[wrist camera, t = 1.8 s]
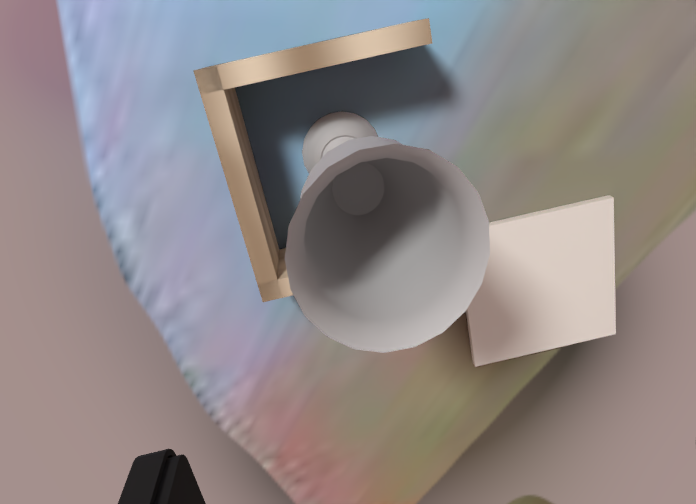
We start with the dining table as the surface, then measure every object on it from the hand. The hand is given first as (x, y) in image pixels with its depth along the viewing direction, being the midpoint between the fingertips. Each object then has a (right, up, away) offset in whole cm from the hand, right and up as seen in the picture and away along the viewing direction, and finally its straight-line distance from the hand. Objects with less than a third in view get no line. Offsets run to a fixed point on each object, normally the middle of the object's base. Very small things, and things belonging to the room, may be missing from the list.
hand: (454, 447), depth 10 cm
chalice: (-2, +10, +25) cm, 27 cm away
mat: (+12, +1, +30) cm, 32 cm away
